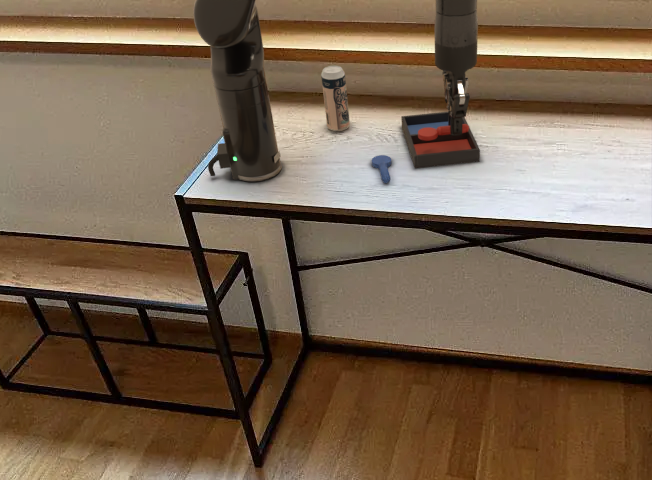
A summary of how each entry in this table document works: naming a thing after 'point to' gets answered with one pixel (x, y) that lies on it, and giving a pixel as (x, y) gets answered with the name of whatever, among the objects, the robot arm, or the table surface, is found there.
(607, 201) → the table surface
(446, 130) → the red spoon
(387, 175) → the blue spoon
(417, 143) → the sorting tray
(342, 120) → the beer can
